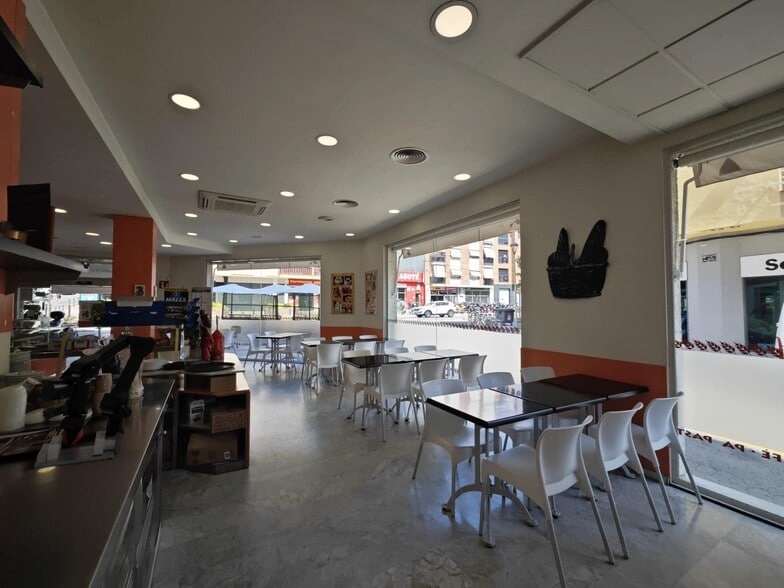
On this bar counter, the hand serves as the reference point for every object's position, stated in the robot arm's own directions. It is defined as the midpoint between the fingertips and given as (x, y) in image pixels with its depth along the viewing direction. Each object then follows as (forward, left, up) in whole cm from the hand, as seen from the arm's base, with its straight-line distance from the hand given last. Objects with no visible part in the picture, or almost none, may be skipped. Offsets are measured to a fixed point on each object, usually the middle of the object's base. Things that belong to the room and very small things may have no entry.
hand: (70, 440), depth 123 cm
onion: (0, 0, -2) cm, 2 cm away
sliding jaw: (+12, +10, 0) cm, 16 cm away
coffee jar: (-36, +13, -2) cm, 38 cm away
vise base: (+12, +3, -2) cm, 12 cm away
